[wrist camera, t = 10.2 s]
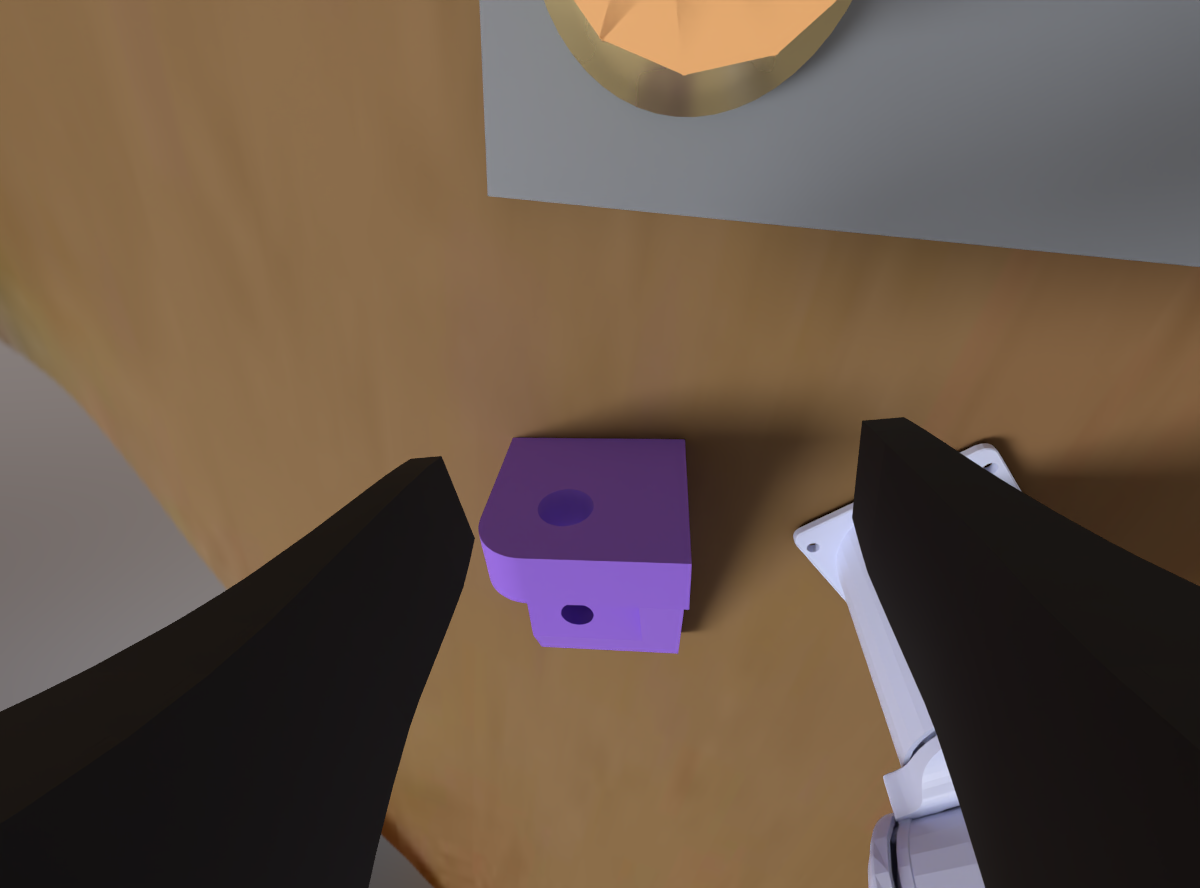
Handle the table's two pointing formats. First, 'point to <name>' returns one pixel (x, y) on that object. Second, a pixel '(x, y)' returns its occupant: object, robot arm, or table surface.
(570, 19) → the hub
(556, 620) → the bracket
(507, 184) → the board
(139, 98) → the table surface
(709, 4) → the sleeve
